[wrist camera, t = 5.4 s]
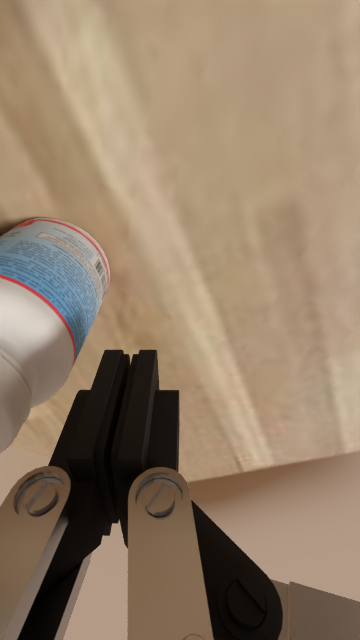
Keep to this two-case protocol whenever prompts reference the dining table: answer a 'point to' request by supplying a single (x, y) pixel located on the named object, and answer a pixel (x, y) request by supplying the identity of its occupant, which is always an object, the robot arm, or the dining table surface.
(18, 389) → the pill bottle
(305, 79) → the dining table surface
